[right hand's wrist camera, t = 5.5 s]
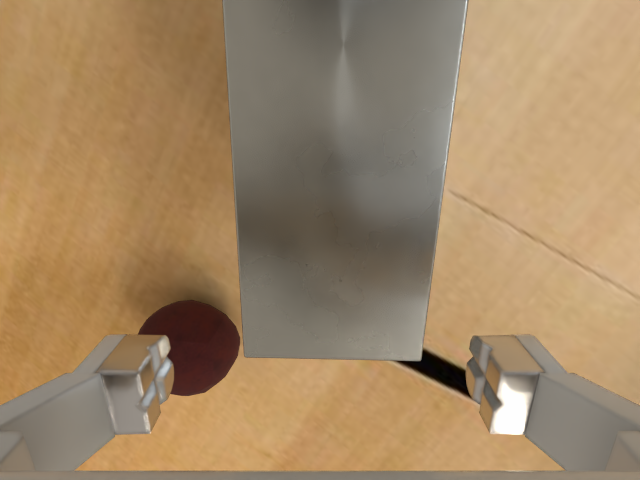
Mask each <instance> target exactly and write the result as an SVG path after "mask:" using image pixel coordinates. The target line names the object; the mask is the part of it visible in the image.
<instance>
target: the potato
mask: <svg viewBox="0 0 640 480" xmlns="http://www.w3.org/2000/svg"><path fill="white" fill-rule="evenodd" d="M138 335H166V336H167V337H168V338H169V343H170V348H171V349H170V351H169V353H168V355H167V357H168V358H169V359H170V360H171V362H172V363H173V367H174V382H173V386H172V391H171V393H170V394H174V395H180V396H190V395H195V394H200V393H205V392H206V391H208V390H209V389H210V388H212V387H213V386H214V385H216V384H217V383H218V382H220V381H221V380H222V379H223V378H224V377H225V376H226V375H227V373H228V371H229V370H230V368H231V367H232V365H233V363H234V362H235V360H236V358H237V356H238V351H239V345H240V336H239V334H238V331H237V328H236V326H235V325H234V324H233V322H232V321H231V320H230V319H229V318H228V317H227V316H226V314H224V313H222V312H221V311H219V310H217V309H216V308H214V307H213V306H211V305H208V304H204V303H201V302H197V301H194V300H187V301H178V302H175V303H173V304H170V305H167V306H165V307H162V308H161V309H159V310H158V311H157V312H155V313H154V314H152V315H151V316H150V317H149V318H148V319H147V320H146V321H145V323H144V324H143V326H142V327H141V329H140V331H139V333H138Z"/></svg>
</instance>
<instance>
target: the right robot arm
mask: <svg viewBox="0 0 640 480" xmlns="http://www.w3.org/2000/svg"><path fill="white" fill-rule="evenodd" d="M170 349H171V348H170V343H169V338H168V337H167V336H166V335H131V334H129V335H127V334H111V335H107V336H105V337H104V338H103V339H102V341H101V342H100V343H99V344H98V345H97V346H96V347H95V348H94V349H93V351H92V352H91V353H90V354H89V355H88V356H87V357H86V358H85V359H84V361H83V362H82V363H81V364H80V365H79V366H78V367H77V368H76V369H75V371H74V372H73V373H65V374H63V375H61V376H59V377H57V378H55V379H53V380H51V381H49V382H47V383H45V384H43V385H41V386H39V387H37V388H35V389H33V390H31V391H29V392H27V393H25V394H23V395H21V396H19V397H17V398H15V399H13V400H11V401H9V402H6V403H4V404H2V405H0V480H640V406H639V405H637V404H635V403H633V402H631V401H629V400H627V399H625V398H623V397H621V396H619V395H617V394H615V393H613V392H611V391H609V390H607V389H605V388H603V387H601V386H599V385H597V384H595V383H593V382H591V381H589V380H587V379H585V378H583V377H581V376H579V375H577V374H575V373H567V372H566V371H565V369H564V368H563V367H562V366H561V365H560V364H559V363H558V362H557V361H556V359H555V358H554V357H553V356H552V355H551V354H550V353H549V352H548V351H547V349H546V348H545V347H544V346H543V345H542V344H541V343H540V342H539V341H538V339H537V338H536V337H535V336H533V335H531V334H518V335H488V336H473V337H472V339H471V342H470V348H469V349H470V351H471V353H472V355H473V357H472V358H471V359H470V360H469V362H468V363H467V368H466V382H467V387H468V390H469V393H470V395H471V397H472V399H473V400H474V401H476V402H477V403H478V404H480V411H479V413H480V415H481V417H482V419H483V421H484V423H485V425H486V427H487V429H488V431H489V433H490V434H522V435H525V437H526V438H528V439H529V440H530V441H531V442H532V443H534V444H535V445H536V446H537V447H538V448H540V449H541V450H542V451H543V452H544V453H546V454H547V455H548V456H549V457H550V458H552V459H553V460H554V461H555V462H556V463H558V464H559V465H560V466H561V467H562V468H564V469H565V470H566V471H74V470H75V469H77V468H78V467H79V466H80V465H81V464H83V463H84V462H85V461H86V460H87V459H89V458H90V457H91V456H92V455H93V454H95V453H96V452H97V451H98V450H99V449H101V448H102V447H103V446H104V445H105V444H107V443H108V442H109V441H110V440H111V439H113V438H114V437H115V435H118V434H150V433H151V431H152V429H153V427H154V425H155V423H156V421H157V419H158V417H159V415H160V413H161V411H160V404H162V403H163V402H164V401H166V400H167V399H168V397H169V395H170V393H171V391H172V386H173V382H174V367H173V363H172V362H171V360H170V359H169V358H168V357H167V355H168V353H169V351H170Z"/></svg>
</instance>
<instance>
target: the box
mask: <svg viewBox="0 0 640 480" xmlns="http://www.w3.org/2000/svg"><path fill="white" fill-rule="evenodd" d="M468 1H469V0H222V5H223V21H224V37H225V53H226V70H227V86H228V102H229V118H230V135H231V151H232V167H233V184H234V200H235V216H236V232H237V249H238V265H239V281H240V297H241V314H242V330H243V346H244V356H245V357H253V358H299V359H346V360H393V361H421V357H422V350H423V342H424V335H425V327H426V319H427V312H428V304H429V297H430V289H431V282H432V274H433V266H434V259H435V251H436V244H437V236H438V228H439V221H440V213H441V206H442V198H443V191H444V183H445V175H446V168H447V160H448V153H449V145H450V138H451V130H452V122H453V115H454V107H455V100H456V92H457V84H458V77H459V69H460V62H461V54H462V47H463V39H464V31H465V24H466V16H467V9H468Z"/></svg>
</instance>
